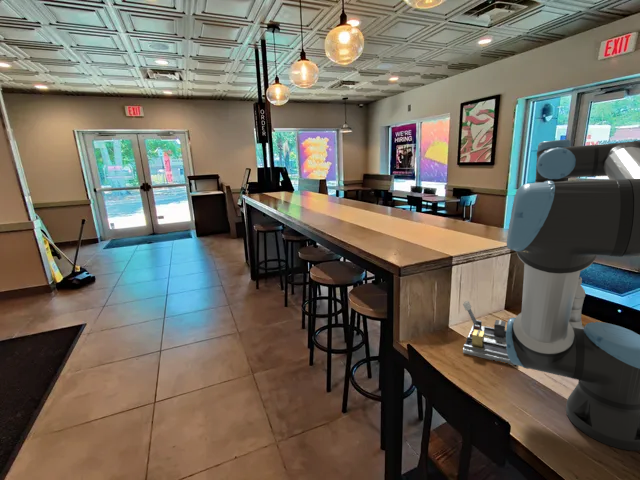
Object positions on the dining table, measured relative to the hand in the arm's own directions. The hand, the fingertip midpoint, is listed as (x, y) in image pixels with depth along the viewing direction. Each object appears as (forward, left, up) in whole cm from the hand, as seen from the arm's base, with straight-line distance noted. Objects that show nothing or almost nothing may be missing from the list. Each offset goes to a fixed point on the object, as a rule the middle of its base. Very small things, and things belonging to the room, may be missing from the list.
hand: (543, 273), depth 96 cm
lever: (+2, +18, -23) cm, 30 cm away
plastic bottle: (+18, -9, -27) cm, 33 cm away
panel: (-3, +13, -26) cm, 29 cm away
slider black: (+2, +11, -25) cm, 27 cm away
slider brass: (-8, +16, -25) cm, 31 cm away
